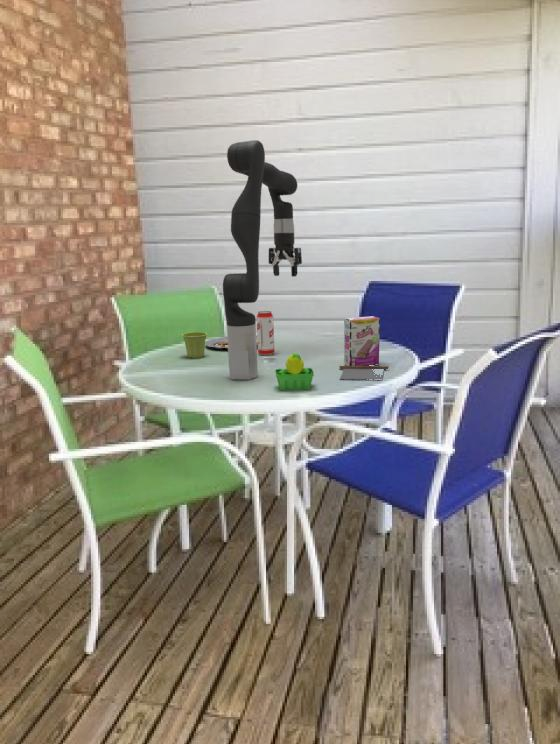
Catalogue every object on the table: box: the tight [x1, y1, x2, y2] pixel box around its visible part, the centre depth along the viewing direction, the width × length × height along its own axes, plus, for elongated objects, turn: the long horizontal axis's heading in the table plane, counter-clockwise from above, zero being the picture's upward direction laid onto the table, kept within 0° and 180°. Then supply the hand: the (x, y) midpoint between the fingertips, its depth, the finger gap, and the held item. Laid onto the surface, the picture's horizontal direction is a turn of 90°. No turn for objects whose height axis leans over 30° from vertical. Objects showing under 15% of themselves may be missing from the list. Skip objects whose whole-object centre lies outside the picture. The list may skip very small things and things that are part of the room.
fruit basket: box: [274, 352, 315, 391], centre depth 194 cm, size 11×9×11 cm
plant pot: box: [181, 331, 208, 359], centre depth 244 cm, size 9×9×9 cm
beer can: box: [256, 310, 275, 356], centre depth 243 cm, size 6×6×16 cm
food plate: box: [205, 335, 258, 350], centre depth 264 cm, size 25×23×4 cm
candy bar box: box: [343, 315, 381, 366], centre depth 219 cm, size 11×5×16 cm, turn 111°
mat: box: [339, 369, 384, 381], centre depth 208 cm, size 14×13×1 cm
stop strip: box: [339, 365, 390, 371], centre depth 214 cm, size 1×16×1 cm, turn 79°
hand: (285, 276), depth 243 cm, fingers open, 8 cm apart
